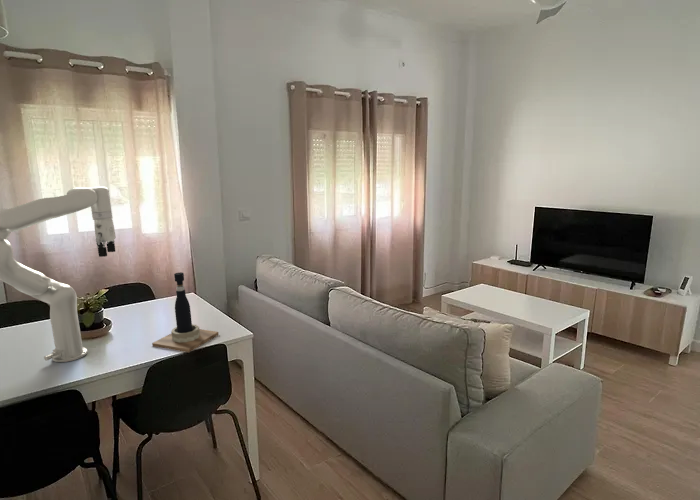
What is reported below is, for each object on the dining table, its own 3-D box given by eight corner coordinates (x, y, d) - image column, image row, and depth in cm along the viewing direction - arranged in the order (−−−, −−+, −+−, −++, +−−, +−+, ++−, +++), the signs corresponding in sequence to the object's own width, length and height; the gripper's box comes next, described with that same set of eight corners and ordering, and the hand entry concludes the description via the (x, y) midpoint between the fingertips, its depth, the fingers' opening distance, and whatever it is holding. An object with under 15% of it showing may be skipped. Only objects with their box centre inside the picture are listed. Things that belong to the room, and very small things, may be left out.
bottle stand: (188, 352, 185) (187, 340, 184) (152, 346, 192) (151, 334, 191) (218, 334, 203) (217, 323, 202) (184, 329, 210) (183, 319, 209)
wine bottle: (189, 340, 194) (183, 275, 188) (175, 340, 194) (168, 275, 188) (195, 334, 200) (188, 271, 194) (181, 334, 200) (174, 271, 194)
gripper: (103, 217, 181) (109, 257, 184) (118, 213, 197) (123, 249, 201) (84, 218, 180) (90, 258, 183) (100, 213, 196) (105, 250, 200)
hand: (107, 254), depth 192 cm, fingers open, 9 cm apart
